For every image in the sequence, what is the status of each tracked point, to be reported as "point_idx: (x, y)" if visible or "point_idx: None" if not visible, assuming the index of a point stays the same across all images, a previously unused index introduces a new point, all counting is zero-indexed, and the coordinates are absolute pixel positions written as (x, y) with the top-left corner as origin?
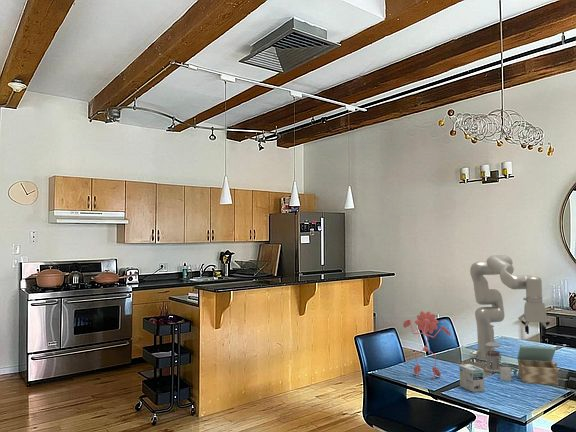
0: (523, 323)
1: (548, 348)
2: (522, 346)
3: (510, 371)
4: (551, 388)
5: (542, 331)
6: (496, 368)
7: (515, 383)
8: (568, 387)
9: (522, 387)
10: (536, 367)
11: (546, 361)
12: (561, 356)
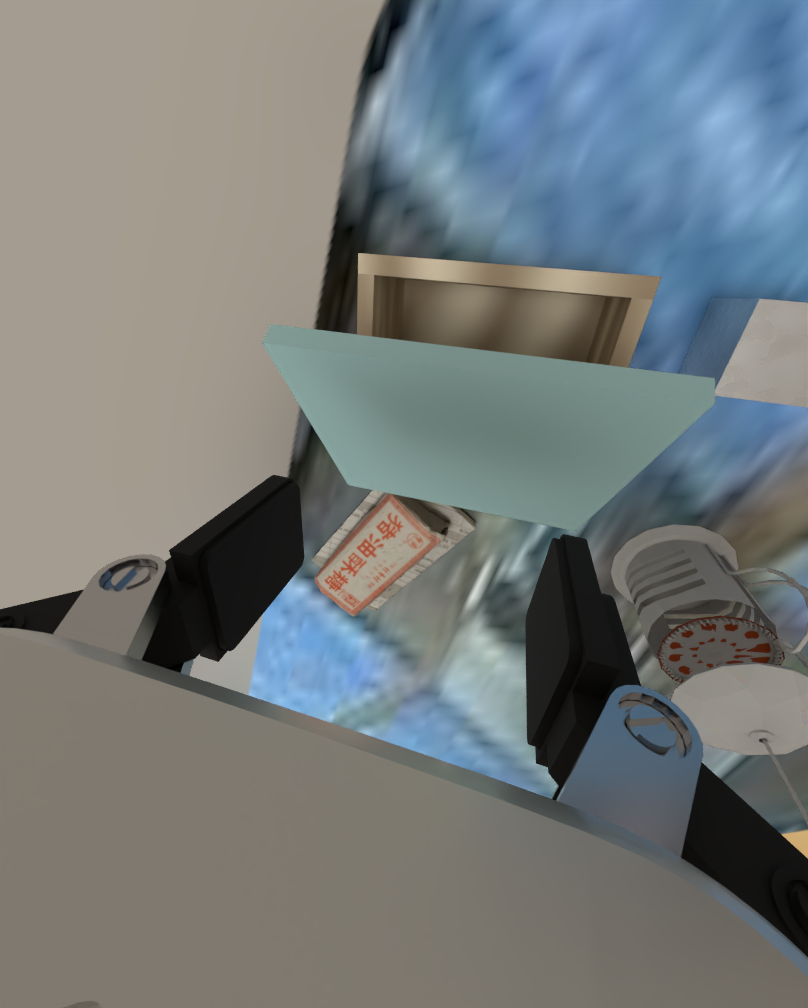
0: (751, 832)
1: (344, 336)
2: (682, 387)
3: (757, 299)
4: (471, 149)
5: (285, 572)
6: (682, 544)
7: (711, 237)
8: (350, 217)
9: (719, 103)
10: (527, 274)
11: (356, 593)
12: (278, 697)
